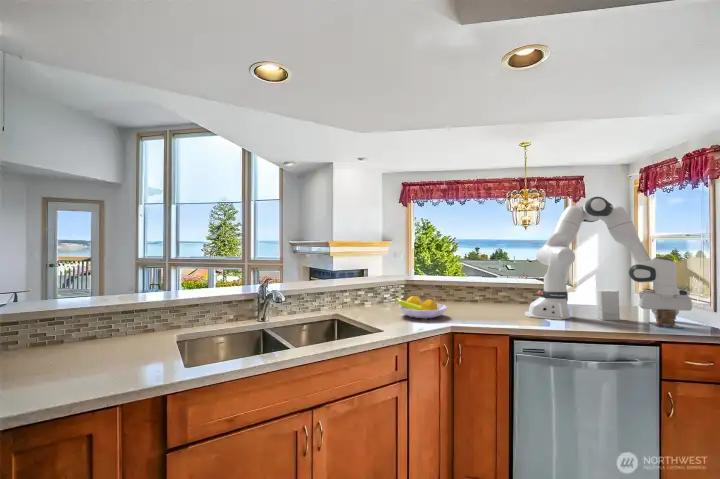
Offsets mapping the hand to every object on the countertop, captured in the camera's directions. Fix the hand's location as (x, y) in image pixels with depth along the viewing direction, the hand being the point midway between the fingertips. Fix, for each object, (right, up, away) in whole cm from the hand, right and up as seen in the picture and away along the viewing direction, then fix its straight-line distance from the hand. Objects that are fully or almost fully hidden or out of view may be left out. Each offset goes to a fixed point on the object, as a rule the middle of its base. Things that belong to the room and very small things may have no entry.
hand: (665, 318), depth 172 cm
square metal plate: (0, -3, 0) cm, 3 cm away
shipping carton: (0, -2, 0) cm, 2 cm away
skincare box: (-17, -4, +15) cm, 23 cm away
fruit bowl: (-115, -5, +27) cm, 118 cm away
